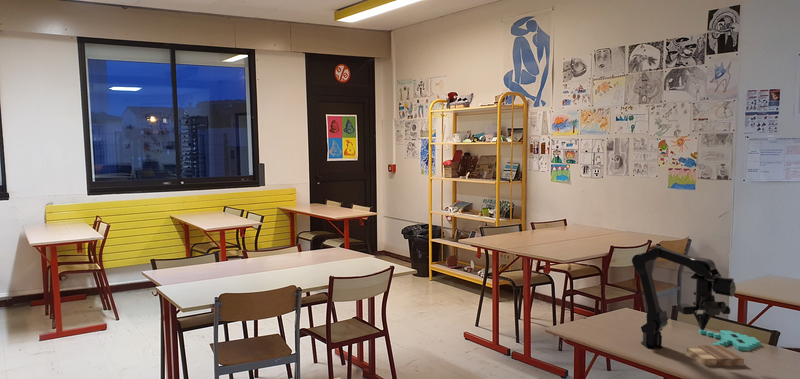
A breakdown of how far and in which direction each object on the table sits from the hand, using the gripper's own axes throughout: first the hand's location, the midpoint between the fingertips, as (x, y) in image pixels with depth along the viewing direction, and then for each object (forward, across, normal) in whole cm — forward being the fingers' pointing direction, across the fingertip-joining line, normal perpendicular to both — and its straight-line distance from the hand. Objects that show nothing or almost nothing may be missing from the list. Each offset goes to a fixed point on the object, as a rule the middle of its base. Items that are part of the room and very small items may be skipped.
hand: (702, 329), depth 218 cm
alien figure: (+13, +25, +19) cm, 33 cm away
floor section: (+12, +8, 0) cm, 14 cm away
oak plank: (+12, 0, 0) cm, 12 cm away
